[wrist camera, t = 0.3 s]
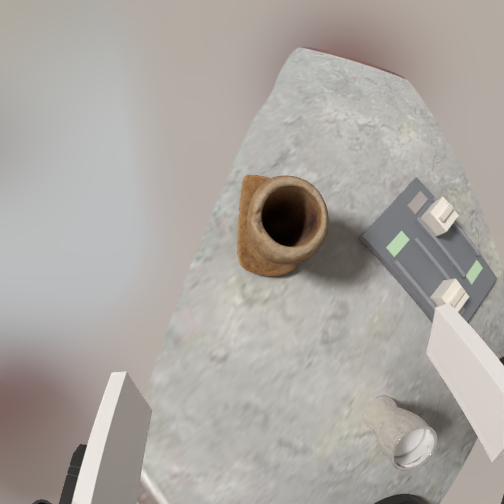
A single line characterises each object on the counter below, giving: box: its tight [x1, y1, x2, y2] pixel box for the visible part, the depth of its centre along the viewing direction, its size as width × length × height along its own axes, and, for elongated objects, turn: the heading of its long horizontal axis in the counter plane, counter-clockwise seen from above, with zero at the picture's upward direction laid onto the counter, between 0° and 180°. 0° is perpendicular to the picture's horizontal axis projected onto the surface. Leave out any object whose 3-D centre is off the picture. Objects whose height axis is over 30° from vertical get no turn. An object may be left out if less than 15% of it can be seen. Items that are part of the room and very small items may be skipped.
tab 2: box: [430, 278, 469, 312], centre depth 40 cm, size 4×4×5 cm
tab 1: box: [420, 197, 459, 236], centre depth 42 cm, size 4×4×5 cm
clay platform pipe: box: [237, 175, 328, 276], centre depth 41 cm, size 15×12×15 cm
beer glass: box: [363, 396, 437, 470], centre depth 35 cm, size 7×7×15 cm
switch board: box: [359, 177, 497, 323], centre depth 44 cm, size 24×15×3 cm, turn 42°
